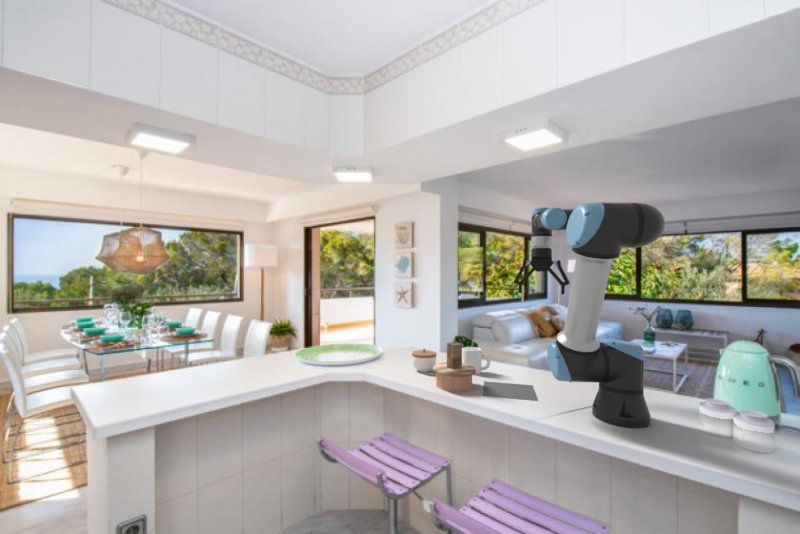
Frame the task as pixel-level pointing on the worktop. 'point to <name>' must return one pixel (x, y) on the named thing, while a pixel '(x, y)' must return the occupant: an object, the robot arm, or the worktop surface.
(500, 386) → the mat
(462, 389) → the bowl
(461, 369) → the cover
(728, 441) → the worktop surface
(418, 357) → the lidded jar
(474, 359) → the mug
